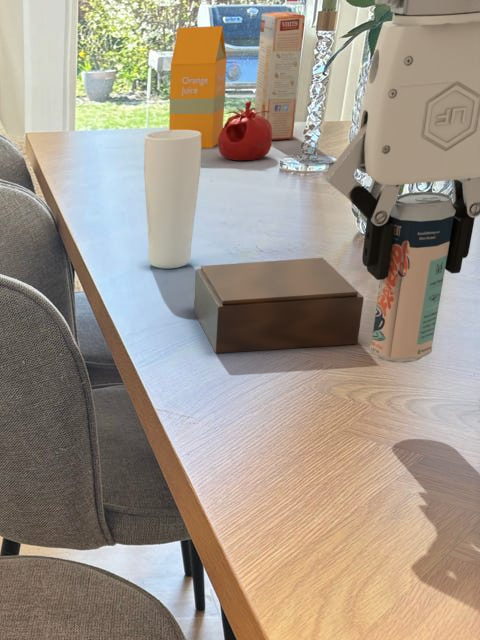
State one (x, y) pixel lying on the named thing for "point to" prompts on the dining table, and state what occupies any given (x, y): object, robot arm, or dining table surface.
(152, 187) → the drinking glass
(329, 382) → the dining table surface
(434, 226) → the beer can
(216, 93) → the orange juice
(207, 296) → the walnut block
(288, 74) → the cracker box
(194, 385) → the dining table surface
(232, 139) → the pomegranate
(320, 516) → the dining table surface
